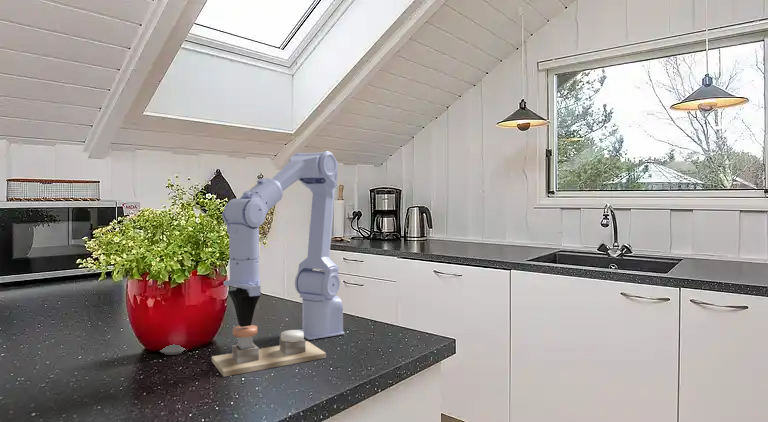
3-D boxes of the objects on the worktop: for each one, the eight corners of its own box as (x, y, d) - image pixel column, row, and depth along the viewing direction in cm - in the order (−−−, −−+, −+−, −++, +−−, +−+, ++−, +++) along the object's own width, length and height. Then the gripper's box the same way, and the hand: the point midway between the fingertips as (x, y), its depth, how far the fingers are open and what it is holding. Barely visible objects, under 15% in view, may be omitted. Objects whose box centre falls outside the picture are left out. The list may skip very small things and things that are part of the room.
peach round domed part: (253, 341, 106) (253, 323, 105) (260, 347, 101) (260, 329, 101) (230, 345, 103) (229, 326, 103) (236, 351, 99) (236, 332, 99)
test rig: (307, 345, 115) (307, 329, 114) (326, 357, 106) (325, 341, 106) (211, 361, 104) (211, 344, 104) (223, 376, 95) (223, 358, 95)
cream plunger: (298, 346, 111) (298, 328, 111) (307, 352, 107) (307, 334, 106) (277, 349, 108) (277, 332, 108) (285, 355, 104) (285, 337, 104)
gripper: (215, 255, 106) (216, 320, 106) (233, 264, 93) (234, 337, 94) (249, 253, 109) (249, 315, 110) (271, 261, 97) (271, 331, 97)
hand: (244, 325), depth 102 cm, fingers closed
